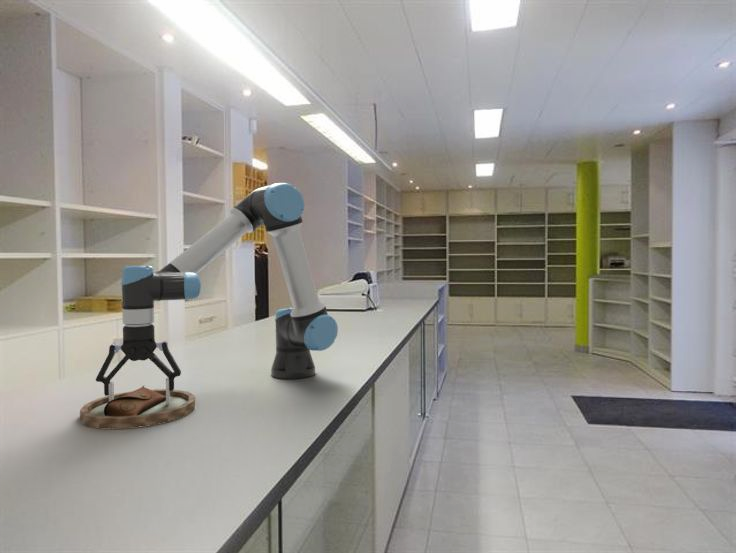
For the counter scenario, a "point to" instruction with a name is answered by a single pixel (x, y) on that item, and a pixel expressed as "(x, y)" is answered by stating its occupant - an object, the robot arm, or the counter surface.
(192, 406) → the tray
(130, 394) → the sunglasses case
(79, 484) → the counter surface
